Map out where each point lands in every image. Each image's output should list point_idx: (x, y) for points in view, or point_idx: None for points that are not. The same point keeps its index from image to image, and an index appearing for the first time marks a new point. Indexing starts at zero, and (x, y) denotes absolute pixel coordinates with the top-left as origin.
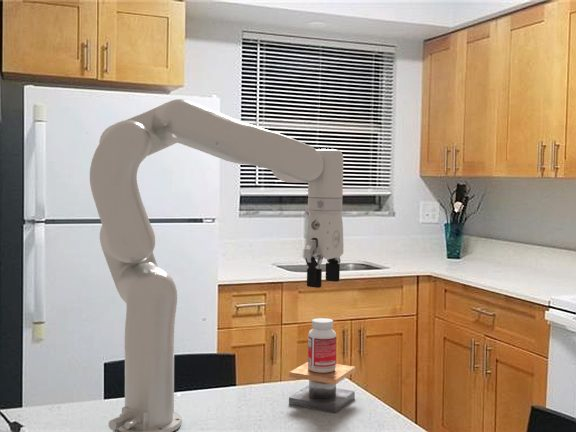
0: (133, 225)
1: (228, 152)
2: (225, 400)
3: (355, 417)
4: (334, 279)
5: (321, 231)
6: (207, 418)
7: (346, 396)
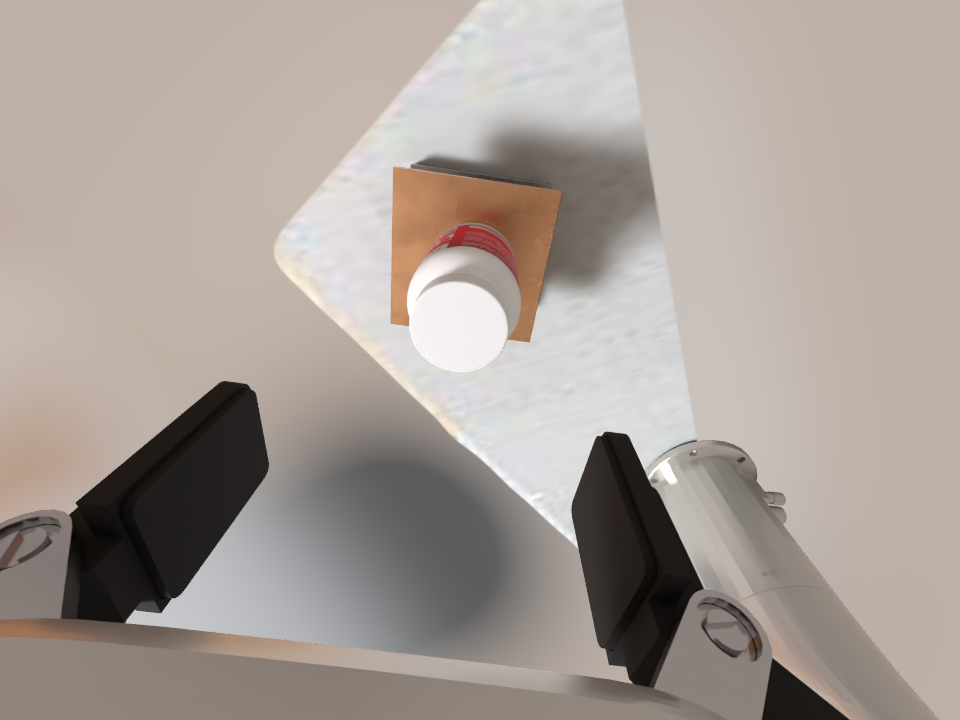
0: None
1: None
2: (541, 425)
3: (562, 118)
4: (250, 418)
5: None
6: (644, 418)
7: (465, 175)
